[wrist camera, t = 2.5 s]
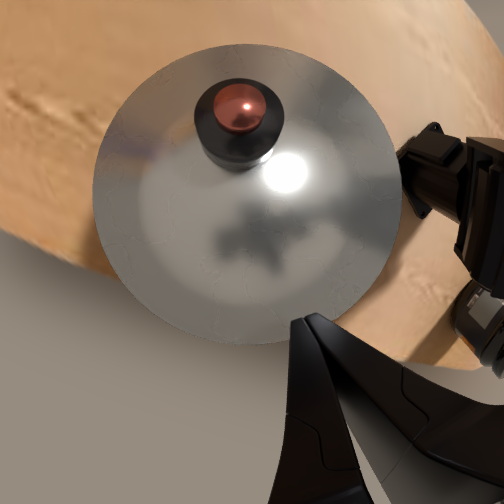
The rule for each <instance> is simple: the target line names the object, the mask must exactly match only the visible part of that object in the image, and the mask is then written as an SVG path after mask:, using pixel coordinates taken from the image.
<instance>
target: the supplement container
mask: <svg viewBox="0 0 504 504" xmlns="http://www.w3.org/2000/svg"><path fill="white" fill-rule="evenodd" d="M451 327H452V330H453V331H454V332H455V334H457V335H458V336H459V337H460V338H461V339H462V341H463V342H464V343H465V344H466V345H467V346H468V347H469V348H470V350H471V351H472V352H473V353H474V354H475V355H476V357H477V358H478V359H479V360H480V363H481V364H482V365H483V366H486V367H492V371H493V372H494V374H495V375H496V376H497V377H498V378H499V379H502V378H504V300H502V299H497V298H493V297H491V296H490V292H487V291H486V290H484V289H482V288H481V287H480V286H479V285H478V284H477V283H476V282H475V281H474V280H472V281H471V282H470V283H469V285H468V286H467V287H466V288H465V290H464V291H463V292H462V294H461V295H460V297H459V299H458V301H457V302H456V305H455V307H454V309H453V312H452V316H451Z"/></svg>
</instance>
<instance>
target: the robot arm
mask: <svg viewBox="0 0 504 504" xmlns="http://www.w3.org/2000/svg"><path fill="white" fill-rule="evenodd" d="M435 126H436V129H435ZM397 159H398V163H399V169H400V174H401V182H402V189H403V190H404V192H405V194H406V196H407V198H408V200H409V202H410V203H411V205H412V207H413V209H414V211H415V213H416V215H417V217H419V218H420V219H424V218H425V217H426V216H427V215H428V214H429V213H430V211H431V210H432V209H434V210H436V211H438V212H439V213H441V214H443V215H445V216H446V217H448V218H450V219H451V220H453V221H454V222H456V223H458V224H459V230H458V236H457V241H456V243H455V246H454V252H455V253H456V254H457V256H458V257H459V259H460V260H461V261H462V263H463V264H464V266H465V267H466V268H467V270H468V271H469V273H470V276H471V278H472V279H473V280H474V281H475V282H476V283H477V284H478V285H479V286H480V287H481V288H482V289H484V290H486V291H487V292H490V296H491V297H493V298H497V299H502V300H504V140H501V139H497V138H483V137H466V143H463V142H461V140H460V139H459V138H456V137H452V136H449V135H445V134H444V133H443V130H442V128H441V126H440V124H439V123H437V122H432V123H431V124H430V125H429V126H428V127H427V128H426V129H425V130H423V131H422V132H421V133H420V134H419V135H418V136H417V137H416V138H415V139H414V140H413V141H412V142H411V143H410V144H409V145H408V146H407V148H406V149H405V150H404V151H403V152H402V153H401V154H400V155H399V156H398V157H397ZM421 213H422V214H421ZM286 414H287V415H286V418H285V431H284V439H283V446H282V451H281V456H280V460H279V465H278V468H277V472H276V476H275V480H274V483H273V487H272V491H271V494H270V498H269V501H268V504H374V502H373V500H372V498H371V496H370V494H369V492H368V490H367V487H366V485H365V482H364V479H363V476H362V473H361V470H360V466H359V463H358V459H357V456H356V453H355V450H354V447H353V443H352V440H351V437H350V434H349V430H348V427H347V424H348V426H349V428H350V429H351V431H352V433H353V435H354V437H355V438H356V440H357V442H358V444H359V446H360V447H361V450H362V451H363V453H364V455H365V457H366V459H367V460H368V462H369V464H370V466H371V468H372V469H373V471H374V473H375V475H376V477H377V478H378V480H379V482H380V483H381V486H382V488H383V489H384V491H385V492H386V495H387V497H388V498H389V500H390V502H391V504H504V405H488V404H483V403H480V402H477V401H474V400H472V399H470V398H467V397H465V396H463V395H460V394H458V393H455V392H453V391H451V390H449V389H446V388H444V387H442V386H440V385H437V384H435V383H433V382H431V381H429V380H427V379H425V378H424V377H422V376H420V375H418V374H416V373H414V372H413V371H411V370H410V369H408V368H406V367H405V366H404V367H403V366H402V365H401V364H400V363H398V362H396V361H395V360H393V359H391V358H390V357H388V356H387V355H385V354H383V353H382V352H380V351H378V350H377V349H375V348H373V347H372V346H370V345H369V344H367V343H365V342H364V341H362V340H361V339H359V338H357V337H356V336H354V335H352V334H351V333H349V332H348V331H346V330H344V329H343V328H341V327H340V326H338V325H336V324H335V323H333V322H332V321H330V320H328V319H327V318H325V317H324V316H322V315H320V314H319V313H316V312H315V313H312V314H309V315H306V316H305V317H304V318H303V317H300V318H297V319H294V320H291V322H290V342H289V368H288V388H287V405H286ZM346 422H347V424H346Z"/></svg>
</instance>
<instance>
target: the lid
mask: <svg viewBox="0 0 504 504" xmlns="http://www.w3.org/2000/svg"><path fill="white" fill-rule="evenodd" d="M401 208H402V182H401V174H400V169H399V163H398V159H397V156H396V153H395V149H394V146H393V143H392V141H391V139H390V136H389V134H388V132H387V130H386V128H385V126H384V124H383V122H382V121H381V119H380V117H379V116H378V114H377V113H376V111H375V110H374V108H373V107H372V106H371V104H370V103H369V102H368V101H367V100H366V98H365V97H364V96H363V95H362V94H361V93H360V92H359V91H358V90H357V89H356V88H355V87H354V86H353V85H352V84H351V83H350V82H349V81H347V80H346V79H345V78H344V77H342V76H341V75H340V74H338V73H337V72H336V71H334V70H333V69H331V68H329V67H327V66H326V65H324V64H322V63H321V62H319V61H317V60H315V59H312V58H310V57H308V56H305V55H303V54H300V53H297V52H294V51H291V50H287V49H284V48H279V47H273V46H268V45H257V44H236V45H225V46H219V47H214V48H209V49H205V50H202V51H199V52H195V53H192V54H190V55H187V56H185V57H183V58H181V59H178V60H176V61H174V62H172V63H170V64H169V65H167V66H165V67H164V68H162V69H160V70H159V71H157V72H156V73H155V74H153V75H152V76H151V77H150V78H148V79H147V80H146V81H144V82H143V83H142V84H141V85H140V86H139V87H138V88H137V89H136V90H135V91H134V92H133V93H132V94H131V95H130V96H129V97H128V99H127V100H126V101H125V102H124V104H123V105H122V106H121V108H120V109H119V110H118V112H117V113H116V115H115V117H114V118H113V120H112V122H111V124H110V125H109V127H108V129H107V131H106V134H105V136H104V138H103V141H102V143H101V146H100V149H99V153H98V156H97V160H96V164H95V170H94V178H93V211H94V217H95V223H96V228H97V231H98V235H99V238H100V241H101V244H102V247H103V249H104V252H105V254H106V256H107V258H108V260H109V262H110V264H111V266H112V268H113V269H114V271H115V272H116V274H117V276H118V277H119V279H120V280H121V282H122V283H123V284H124V285H125V287H126V288H127V289H128V290H129V291H130V292H131V294H133V296H134V297H135V298H136V299H137V300H138V301H139V302H140V303H141V304H143V305H144V306H145V307H146V308H147V309H148V310H150V311H151V312H152V313H153V314H154V315H156V316H158V317H159V318H161V319H162V320H164V321H165V322H167V323H169V324H170V325H172V326H174V327H176V328H178V329H180V330H182V331H184V332H187V333H189V334H191V335H194V336H197V337H200V338H204V339H207V340H211V341H215V342H221V343H227V344H234V345H262V344H270V343H277V342H282V341H286V340H290V322H291V320H294V319H297V318H300V317H303V318H304V317H305V316H306V315H309V314H312V313H315V312H316V313H319V314H320V315H322V316H324V317H325V318H327V319H328V320H330V321H333V320H335V319H336V318H338V317H339V316H341V315H342V314H343V313H344V312H346V311H347V310H348V309H349V308H351V307H352V306H353V305H354V304H355V303H356V302H357V301H358V300H359V299H360V298H361V297H362V296H363V295H364V294H365V293H366V292H367V291H368V289H369V288H370V287H371V285H372V284H373V283H374V281H375V280H376V278H377V277H378V276H379V274H380V273H381V271H382V269H383V267H384V265H385V263H386V261H387V260H388V258H389V256H390V253H391V251H392V248H393V245H394V242H395V239H396V237H397V232H398V228H399V223H400V218H401Z"/></svg>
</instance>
